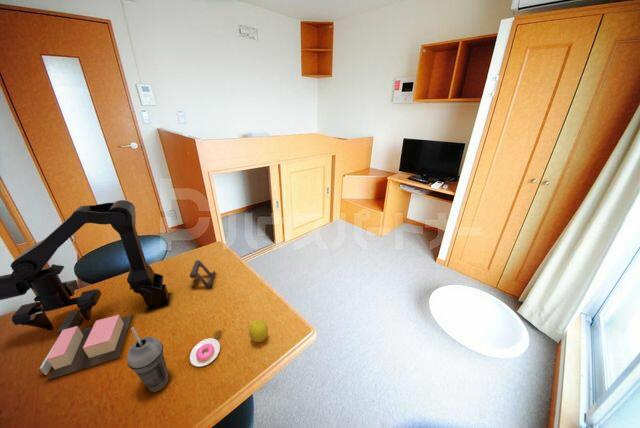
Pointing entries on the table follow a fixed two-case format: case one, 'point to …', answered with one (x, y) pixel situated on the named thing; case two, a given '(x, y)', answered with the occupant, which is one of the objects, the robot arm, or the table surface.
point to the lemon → (258, 330)
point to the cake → (103, 336)
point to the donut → (204, 352)
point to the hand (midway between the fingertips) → (71, 324)
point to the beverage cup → (148, 362)
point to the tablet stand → (195, 274)
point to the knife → (69, 322)
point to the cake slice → (65, 347)
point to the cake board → (84, 361)
